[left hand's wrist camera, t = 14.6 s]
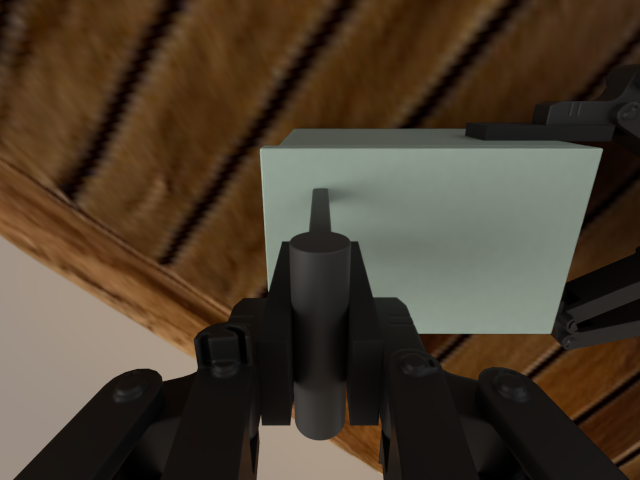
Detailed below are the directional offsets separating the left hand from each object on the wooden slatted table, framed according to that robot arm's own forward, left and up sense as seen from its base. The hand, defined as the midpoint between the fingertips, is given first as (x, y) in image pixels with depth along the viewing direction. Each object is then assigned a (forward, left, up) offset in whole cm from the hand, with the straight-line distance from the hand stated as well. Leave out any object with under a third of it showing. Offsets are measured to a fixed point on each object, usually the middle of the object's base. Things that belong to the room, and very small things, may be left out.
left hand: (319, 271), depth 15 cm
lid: (-3, +4, -3) cm, 6 cm away
